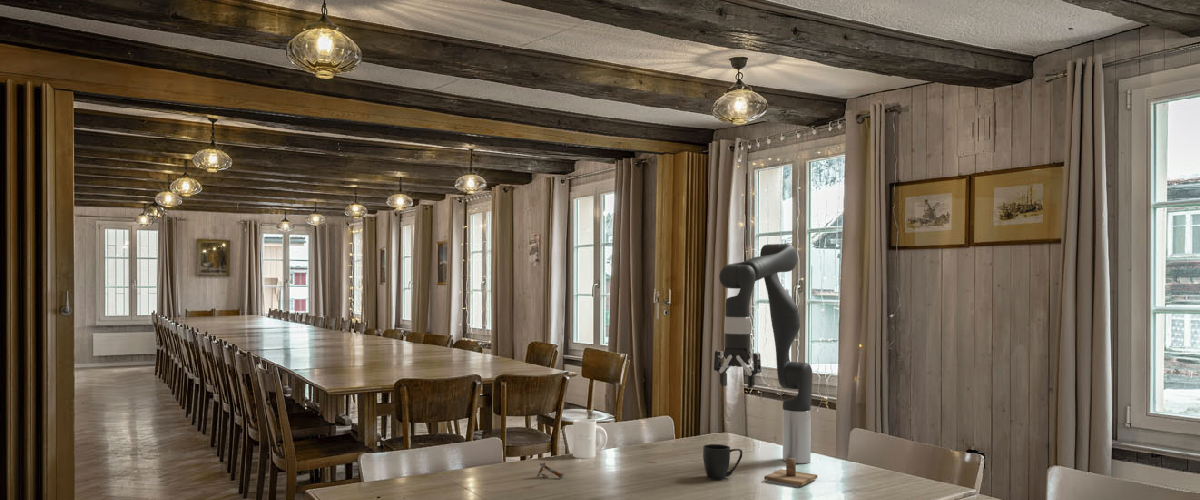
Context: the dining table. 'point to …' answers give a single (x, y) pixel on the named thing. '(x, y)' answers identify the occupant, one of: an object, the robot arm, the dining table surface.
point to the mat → (782, 483)
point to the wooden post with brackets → (549, 471)
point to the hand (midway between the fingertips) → (737, 387)
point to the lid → (790, 474)
